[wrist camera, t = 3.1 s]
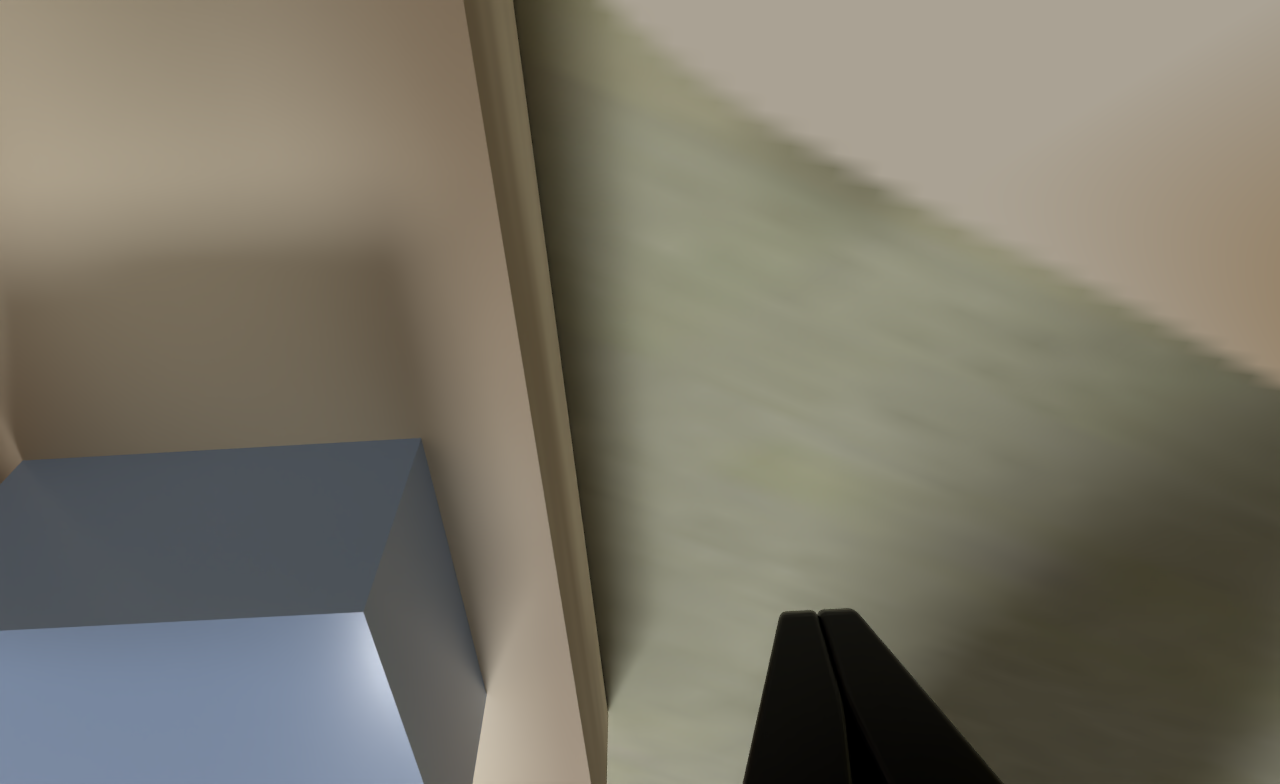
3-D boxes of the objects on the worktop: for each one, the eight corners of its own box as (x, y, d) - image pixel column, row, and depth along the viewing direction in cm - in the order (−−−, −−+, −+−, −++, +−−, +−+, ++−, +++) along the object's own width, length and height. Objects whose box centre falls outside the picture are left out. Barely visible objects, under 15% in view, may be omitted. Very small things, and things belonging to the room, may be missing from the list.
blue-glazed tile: (421, 437, 9) (363, 611, 7) (487, 694, 12) (457, 878, 10) (22, 460, 10) (-144, 638, 8) (169, 710, 12) (76, 895, 10)
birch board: (501, -85, 9) (456, -49, 7) (607, 713, 17) (604, 867, 15) (-565, -9, 10) (-983, 54, 7) (18, 742, 17) (-84, 897, 15)
